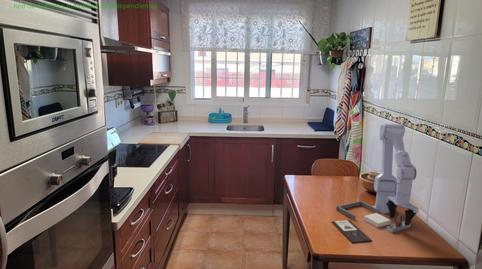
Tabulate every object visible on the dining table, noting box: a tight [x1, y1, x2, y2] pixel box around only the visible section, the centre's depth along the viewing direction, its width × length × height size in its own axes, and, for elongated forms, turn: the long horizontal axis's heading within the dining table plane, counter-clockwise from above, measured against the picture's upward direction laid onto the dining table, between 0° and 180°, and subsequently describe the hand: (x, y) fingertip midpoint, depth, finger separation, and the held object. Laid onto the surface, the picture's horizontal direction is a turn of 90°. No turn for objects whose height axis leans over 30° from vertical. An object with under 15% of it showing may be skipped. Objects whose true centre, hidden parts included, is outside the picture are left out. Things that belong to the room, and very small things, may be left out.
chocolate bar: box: [331, 219, 373, 244], centre depth 144 cm, size 9×1×18 cm
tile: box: [363, 212, 391, 228], centre depth 153 cm, size 8×8×2 cm
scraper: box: [385, 213, 411, 234], centre depth 147 cm, size 12×3×7 cm, turn 117°
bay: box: [335, 200, 380, 221], centre depth 164 cm, size 17×12×2 cm
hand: (399, 221), depth 147 cm, fingers open, 7 cm apart
